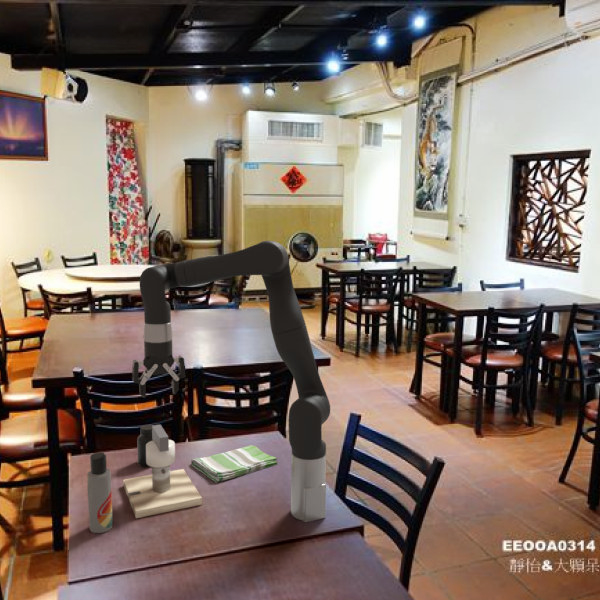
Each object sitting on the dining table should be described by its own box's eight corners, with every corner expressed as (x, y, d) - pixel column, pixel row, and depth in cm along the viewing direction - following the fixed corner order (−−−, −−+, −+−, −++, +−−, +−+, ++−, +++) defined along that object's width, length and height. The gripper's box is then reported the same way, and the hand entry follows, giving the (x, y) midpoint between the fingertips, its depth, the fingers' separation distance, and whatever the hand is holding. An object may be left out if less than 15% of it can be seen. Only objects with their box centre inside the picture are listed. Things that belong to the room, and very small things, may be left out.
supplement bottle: (156, 467, 187) (155, 431, 185) (135, 467, 187) (134, 431, 185) (161, 458, 194) (161, 423, 192) (141, 458, 194) (140, 423, 192)
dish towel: (189, 465, 190) (189, 455, 190) (249, 448, 204) (249, 438, 204) (216, 485, 177) (216, 474, 177) (278, 466, 191) (278, 455, 191)
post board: (201, 504, 165) (201, 470, 163) (136, 518, 157) (134, 483, 155) (183, 474, 183) (183, 444, 181) (123, 485, 175) (122, 454, 173)
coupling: (179, 465, 165) (178, 435, 164) (150, 470, 162) (149, 439, 161) (170, 452, 174) (169, 423, 173) (143, 456, 171) (142, 427, 170)
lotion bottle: (116, 527, 152) (114, 454, 149) (96, 536, 148) (93, 461, 145) (105, 519, 156) (102, 447, 153) (85, 527, 152) (81, 454, 149)
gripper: (134, 343, 156) (135, 402, 159) (187, 339, 162) (188, 395, 165) (129, 337, 163) (131, 394, 165) (180, 333, 169) (181, 388, 172)
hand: (159, 394), depth 165 cm, fingers open, 8 cm apart
